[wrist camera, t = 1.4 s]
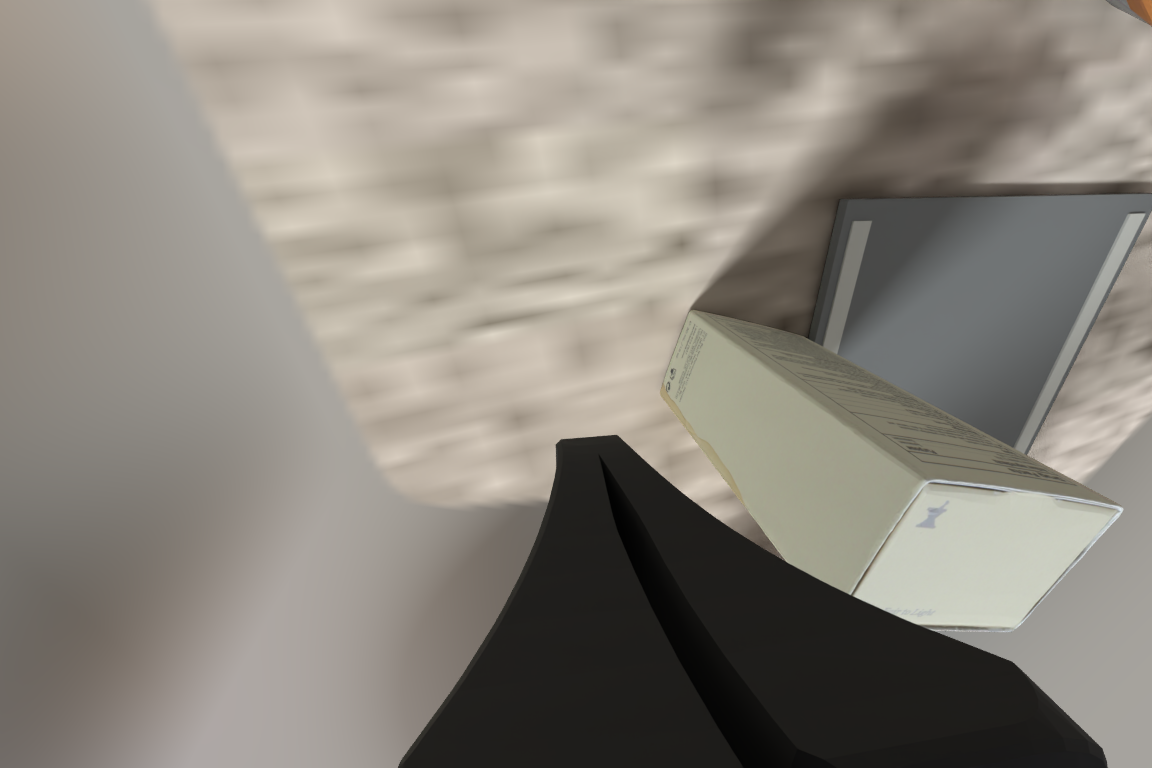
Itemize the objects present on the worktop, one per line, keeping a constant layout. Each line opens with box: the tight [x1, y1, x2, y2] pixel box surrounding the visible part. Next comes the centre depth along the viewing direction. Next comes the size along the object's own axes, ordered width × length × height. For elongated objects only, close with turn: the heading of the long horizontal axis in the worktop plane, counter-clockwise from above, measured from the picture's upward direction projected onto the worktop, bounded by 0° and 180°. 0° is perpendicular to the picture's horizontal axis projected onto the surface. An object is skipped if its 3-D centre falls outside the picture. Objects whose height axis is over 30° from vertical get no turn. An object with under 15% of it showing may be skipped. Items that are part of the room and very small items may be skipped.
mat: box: [808, 193, 1152, 455], centre depth 23 cm, size 16×15×1 cm
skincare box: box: [660, 310, 1123, 632], centre depth 16 cm, size 6×4×12 cm
